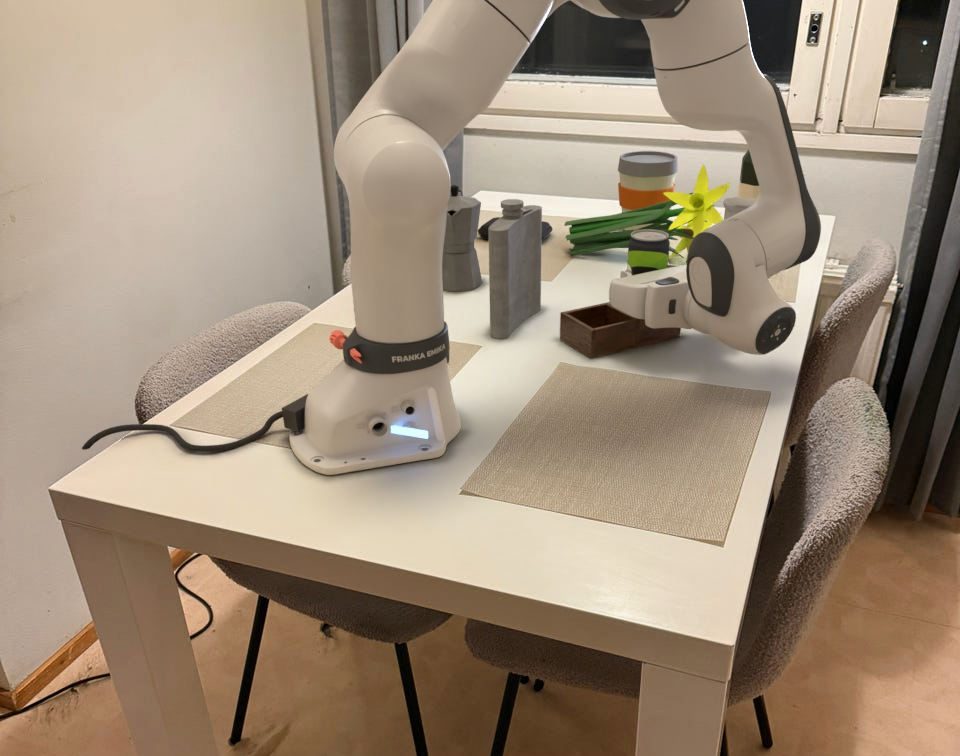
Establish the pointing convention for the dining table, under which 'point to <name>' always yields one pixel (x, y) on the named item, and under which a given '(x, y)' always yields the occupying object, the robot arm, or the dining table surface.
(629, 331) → the divided box
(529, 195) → the dining table surface
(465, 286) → the coffeepot
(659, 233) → the beverage can
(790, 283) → the dining table surface
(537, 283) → the hip flask
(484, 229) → the carrying case
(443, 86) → the robot arm
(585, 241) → the daffodil flowers
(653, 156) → the reusable coffee cup
